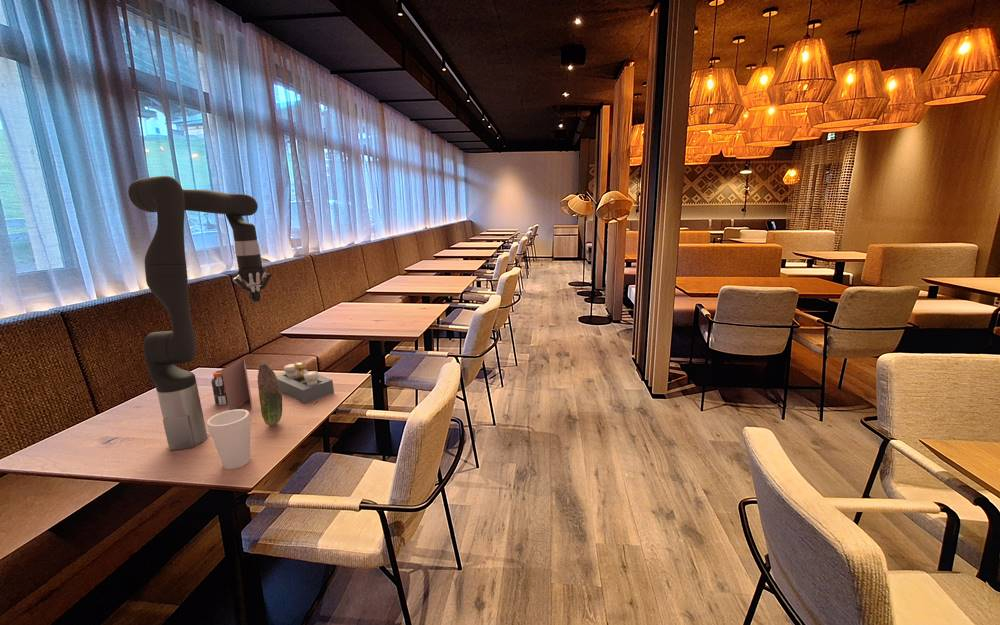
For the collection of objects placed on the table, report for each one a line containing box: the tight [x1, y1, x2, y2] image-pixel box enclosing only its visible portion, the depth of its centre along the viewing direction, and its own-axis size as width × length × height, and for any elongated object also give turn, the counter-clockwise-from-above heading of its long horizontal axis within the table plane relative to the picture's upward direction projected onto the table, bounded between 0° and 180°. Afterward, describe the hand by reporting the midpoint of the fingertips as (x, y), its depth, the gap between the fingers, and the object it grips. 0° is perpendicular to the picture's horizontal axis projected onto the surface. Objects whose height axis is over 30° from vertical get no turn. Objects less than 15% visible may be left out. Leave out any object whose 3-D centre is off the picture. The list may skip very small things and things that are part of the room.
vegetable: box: [257, 363, 283, 427], centre depth 136 cm, size 6×6×20 cm
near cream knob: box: [304, 370, 319, 386], centre depth 158 cm, size 5×5×7 cm
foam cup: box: [206, 408, 252, 470], centre depth 117 cm, size 10×9×13 cm
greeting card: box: [221, 357, 253, 411], centre depth 152 cm, size 11×7×15 cm, turn 175°
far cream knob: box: [283, 363, 297, 378], centre depth 166 cm, size 5×5×7 cm
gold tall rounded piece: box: [293, 361, 307, 382], centre depth 162 cm, size 4×4×7 cm
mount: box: [276, 368, 335, 405], centre depth 163 cm, size 22×11×5 cm, turn 52°
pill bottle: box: [210, 369, 228, 406], centre depth 155 cm, size 6×6×11 cm
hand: (256, 301), depth 161 cm, fingers closed
